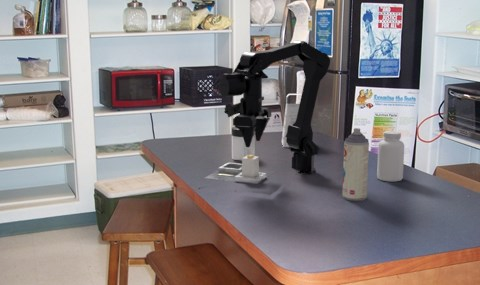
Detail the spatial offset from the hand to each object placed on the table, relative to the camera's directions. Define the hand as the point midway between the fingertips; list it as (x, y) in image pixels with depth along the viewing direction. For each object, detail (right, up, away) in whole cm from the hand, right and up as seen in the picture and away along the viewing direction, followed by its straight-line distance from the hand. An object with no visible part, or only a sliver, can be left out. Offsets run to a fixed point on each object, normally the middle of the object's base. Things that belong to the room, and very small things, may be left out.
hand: (253, 143), depth 194 cm
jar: (-3, -6, +28) cm, 28 cm away
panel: (-4, -11, +5) cm, 13 cm away
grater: (+18, 0, +54) cm, 57 cm away
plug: (-1, -11, -1) cm, 11 cm away
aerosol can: (+29, -15, -16) cm, 36 cm away
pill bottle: (+43, -11, +4) cm, 45 cm away
